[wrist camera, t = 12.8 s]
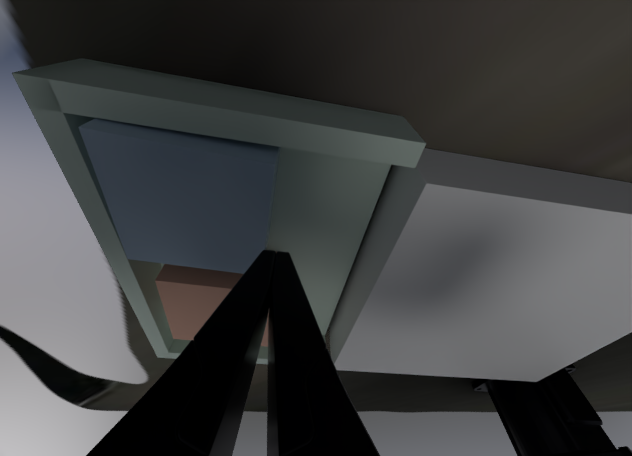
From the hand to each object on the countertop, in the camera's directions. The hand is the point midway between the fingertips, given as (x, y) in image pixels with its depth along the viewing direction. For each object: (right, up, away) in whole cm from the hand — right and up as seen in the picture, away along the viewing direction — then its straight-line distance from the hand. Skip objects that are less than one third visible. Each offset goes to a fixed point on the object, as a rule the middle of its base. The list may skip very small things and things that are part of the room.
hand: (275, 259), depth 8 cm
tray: (-2, 0, +6) cm, 6 cm away
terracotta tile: (-3, -3, +4) cm, 6 cm away
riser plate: (+11, -2, +7) cm, 13 cm away
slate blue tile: (-3, +1, 0) cm, 3 cm away
